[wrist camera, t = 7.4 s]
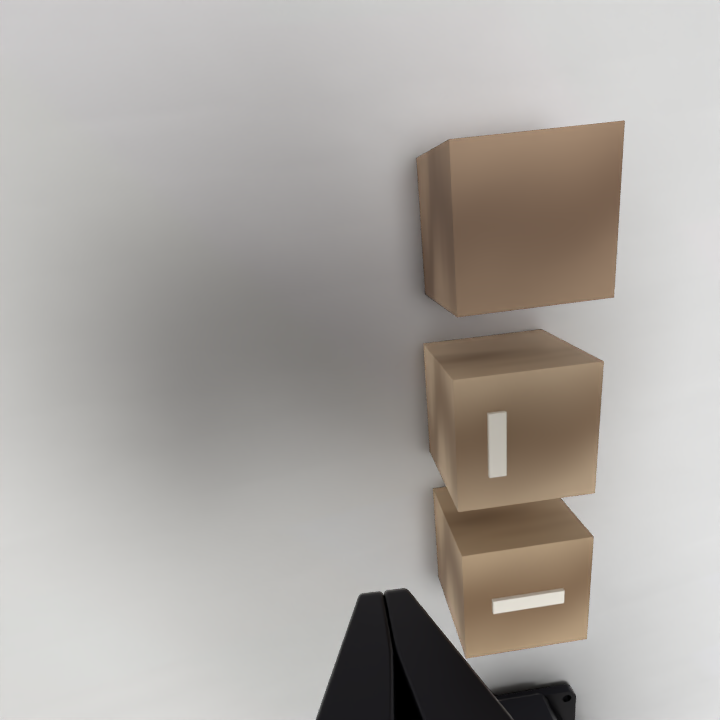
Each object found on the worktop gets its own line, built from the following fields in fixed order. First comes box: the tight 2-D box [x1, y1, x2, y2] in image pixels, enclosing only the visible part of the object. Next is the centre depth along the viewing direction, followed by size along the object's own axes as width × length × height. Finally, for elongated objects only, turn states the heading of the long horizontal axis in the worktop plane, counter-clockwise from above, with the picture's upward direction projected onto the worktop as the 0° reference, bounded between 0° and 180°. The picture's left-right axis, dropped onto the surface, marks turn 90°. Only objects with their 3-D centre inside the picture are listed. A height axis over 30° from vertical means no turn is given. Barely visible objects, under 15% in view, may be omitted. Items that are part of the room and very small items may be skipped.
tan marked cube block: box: [423, 329, 604, 512], centre depth 18 cm, size 5×5×5 cm
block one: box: [433, 487, 594, 658], centre depth 20 cm, size 5×5×5 cm
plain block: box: [416, 121, 625, 317], centre depth 16 cm, size 5×5×4 cm
